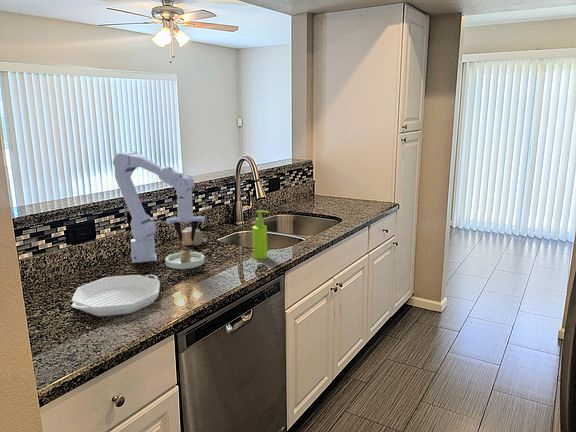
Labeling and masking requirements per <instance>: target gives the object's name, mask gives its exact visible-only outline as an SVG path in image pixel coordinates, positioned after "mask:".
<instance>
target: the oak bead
mask: <svg viewBox="0 0 576 432" xmlns="http://www.w3.org/2000/svg"><path fill="white" fill-rule="evenodd" d="M191 252H192V251H190V250H181V251H180V261H181V263H187V262H191Z"/></svg>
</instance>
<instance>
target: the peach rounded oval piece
mask: <svg viewBox="0 0 576 432" xmlns="http://www.w3.org/2000/svg"><path fill="white" fill-rule="evenodd" d="M181 238H182V241H181V245H182V246H190V245H191V244H192V232H191V231H188V230H186V231H183V230H181ZM191 246H192V245H191Z"/></svg>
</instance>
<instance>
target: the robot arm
mask: <svg viewBox="0 0 576 432" xmlns="http://www.w3.org/2000/svg"><path fill="white" fill-rule="evenodd" d="M112 164H113V167H114V178H115V180H116V182H117V185H118V187H119V190H120V193H121V195H122V198H123V199H124V202H125V205H126V206H127V209H128V211H129V214H130V216H131V221H130V224H129V225H130V228H131V230H130V231H131V236H132V237H133V239H130V250H131V251H130V258H131V263H132V264H135V263H137V264H138V263H147V262H148V263H149V262H157V261H158V260H157V254H156V246H155V233H156V232H157V229H158V227H157V224H156V222H155V221H154V220H152V217H151V215H149V214H147V213H146V211H145V209H144V207H143V205H142V202H141V199H140V196H139V194H138V192H137V190H136V187H135V184H134V182H133V180H132V175H133V172H134V171H135V170H136V169H137V168H142V169H144V170H146V171H147V172H150V173H153V174H155V175H157V176H158V178H159V181H162V182H164V183H166V184H168V185H170V186H171V187H173V188H174V190H175V191H176V199H177V200H176V201H177V217H176V216H175V217H167V218H166V224H167V225H171V224H173V227H174V228H175V229H174V230H175V231H176V232H177V235H178V237H179V242H182V238H181V232H182V226H181V224H186V223H187V224H189V223H190V224H191V225H190V227H191V229H192V241H194V235H195V231H196V229H197V230H198V226H199V223H205V222H206V221H205V220H206V219H205V216H204V215H203V216H202V215H201V216H199V215H198V216H197V215H196V216H195V215H194V212H193V211H194V209H193V191H192V190H193V188H194V186H195V181H194V178H192V176H190V175H189V174H184V175H183V173H182V172H178V171H176V170H174V169H173V167H172V166H164V167H162V166H160V165H159V164H157V163H155V162H154V161H152V160H150V159H149V158H147V157H145V156H144V155H143V154H141V153H139V152H137V151H134V150H133V151H128V152H120V153H117V154H115V156H114V159H113V160H112Z"/></svg>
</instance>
